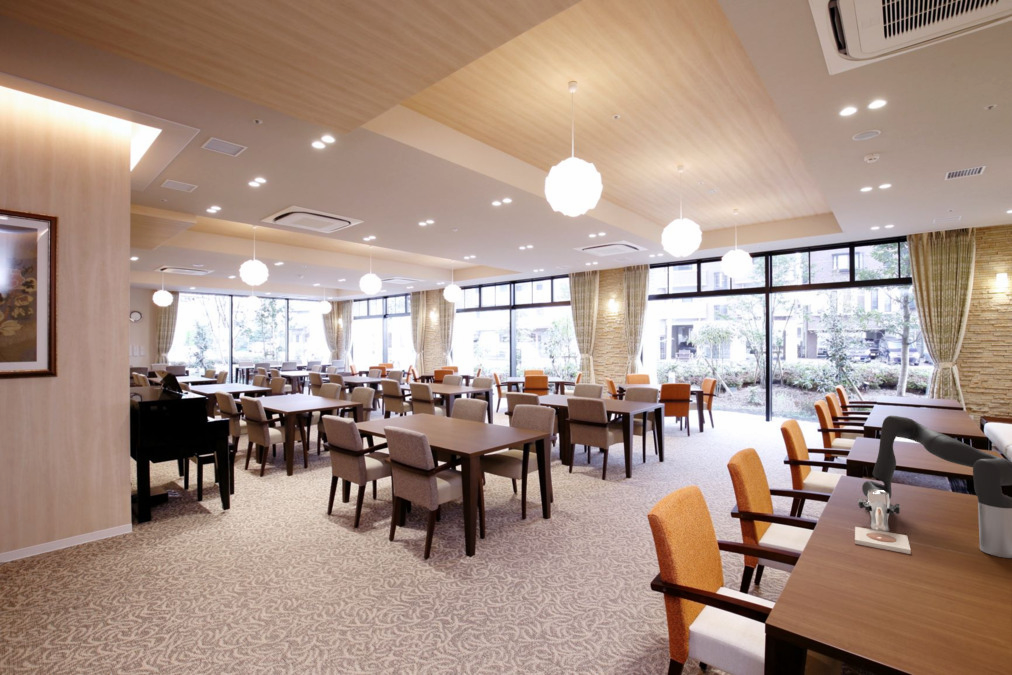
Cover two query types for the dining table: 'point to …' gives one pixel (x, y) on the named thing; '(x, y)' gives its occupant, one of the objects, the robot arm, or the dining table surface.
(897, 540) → the ceramic tile
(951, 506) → the dining table surface
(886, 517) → the shiny silver metal cup
